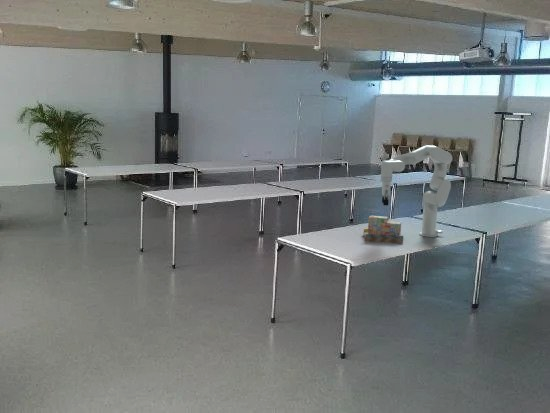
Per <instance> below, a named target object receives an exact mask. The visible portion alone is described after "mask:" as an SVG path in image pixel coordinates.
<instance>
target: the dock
mask: <svg viewBox="0 0 550 413" xmlns="http://www.w3.org/2000/svg"><path fill="white" fill-rule="evenodd" d="M363 239H364V242H366V243H367V242H368V243H383V242H384V243H387V244H390V243H391V244H404V235H402V234H400V235H378V234H368V227H367V228H365V227H364V228H363Z"/></svg>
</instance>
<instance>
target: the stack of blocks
mask: <svg viewBox="0 0 550 413" xmlns="http://www.w3.org/2000/svg"><path fill="white" fill-rule="evenodd" d="M367 222H368V224H367V229H368V234H378V235H400V234H401V233H402V222H399V221H389V217H388V216H383V215H381V216H380V215H370V216H368V221H367ZM401 235H402V234H401Z"/></svg>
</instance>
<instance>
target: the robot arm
mask: <svg viewBox="0 0 550 413" xmlns="http://www.w3.org/2000/svg"><path fill="white" fill-rule="evenodd" d="M427 159H431V161H432V163H433V166H434V168H433V173H432V176H431V179H430V182H429V187H430V189H431V190H427V191H425V192H424V194H423V195H422V203H423V205H422V206H423V211H422V225H421V226H422V227H421V231H420V232H419V236H421V237H425V238H437V237H438V235H439V234H444V233H443V232H444V231H443V230H439V229H437V220H438V219H437V218H438V208H440V207H443V206H444V205H445V204H446V202H447V199H448V198H449V194H450V191H451V189H452V183H451V181H450V180H449V179H448V178H446V176H447V172H448V168H447V165H449V164H451V163H452V162H453V156H452V154H451V153H450V152H449V151H447V150H445V149H442V148H441V147H438V146H437V145H436V146H435V145H429V144H428V145H427V144H426V145H423V146H422V147H418V148H416V149H414V150H413V151H411V152H407V153H403V154H399V155H396V156H394V157H392V158H390V159H389V160H382V161H381V168H380V169H381V170H380V182H382V184H381V195H382V198H381V203H382V204H383V206H387V207H388V206H389V197H391V189H392V188H391V183H392V182H393V172H397V173H401V172H402V171H404V170H405V168H406V166H407V165H416V164H418V163H420V162H422V161H424V160H427ZM432 190H434V191H432Z"/></svg>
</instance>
